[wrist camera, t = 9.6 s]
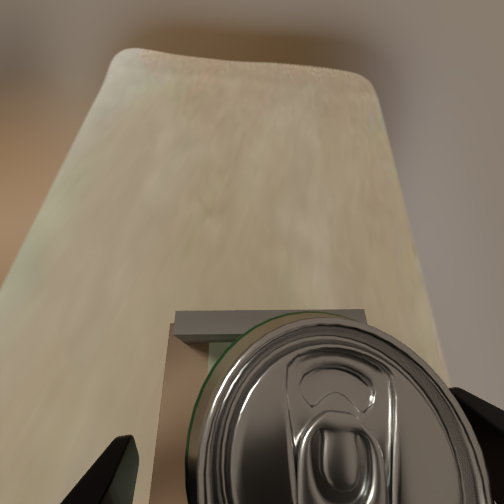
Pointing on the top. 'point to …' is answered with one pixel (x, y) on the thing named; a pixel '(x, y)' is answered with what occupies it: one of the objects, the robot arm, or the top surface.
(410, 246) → the top surface
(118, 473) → the robot arm
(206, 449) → the soda can
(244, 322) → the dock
